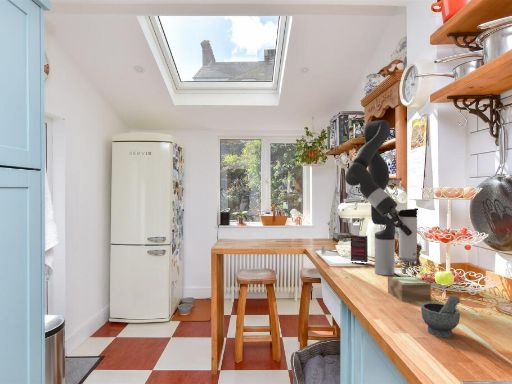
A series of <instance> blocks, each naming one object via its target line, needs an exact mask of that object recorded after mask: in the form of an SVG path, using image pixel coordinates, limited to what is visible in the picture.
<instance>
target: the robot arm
mask: <svg viewBox="0 0 512 384" xmlns="http://www.w3.org/2000/svg"><path fill="white" fill-rule="evenodd" d="M390 133H391V125H390V123H389V121H388V120H385V119H380V120H379V119H378V120H374V121H373V120H372V121H368V122H366V123H365V124H364V126H363V136H364V137H363V138H364V142H365V144H364V145H362V146H361V147H360V148H359V149H358V151H357V153H356V155H355V156H354V158H353V161H352V163H351V164H350V165H349V167H348V168H347V171H346V173H345V176H344V179H345V182H346V184H347V185H348V186H352V187H354V186H355V187H356V186H358V185H359V191H360V193H361V194H362V195H363V196H364V198H365V199H366V200H367V201H368V202H369V204H370V214H371V215H370V216H371V221H372V223H373V224H374V225H379V226H385V228H384V229H382V230H380V231H376V232H375V233H374V273H375V274H376V275H379V276H394V275H395V274H396V273H395V269H396V268H395V267H396V266H395V252H396V251H395V249H396V248H395V245H396V244H395V243H396V242H395V241H396V238H395V236H396V228H397V229H398V230H399V229H401V230H402V231H403V232H404V233H405V234H406V235H407V236H409V235H411V234H412V231H411V230H410V229H409V228H408V227H407V226H406V225H405V223H404V222H403V221H402V218H401V217H400V210H397V207H398V203H397V202H396V200H394V199H393V198H392V197H391V195H389V194H388V192H387V191H385V189H386V188H387V186H388V184H389V182H390V169H389V165H388V164H387V162H386V160H385V159H384V158H383V157H382V155H381V154H380V152H379V150H380V148H381V147H382V146H383V144H384V143H385V142H386V140H387V139H388V138H389V136H390ZM404 225H405V226H404ZM394 273H395V274H394Z"/></svg>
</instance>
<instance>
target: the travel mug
mask: <svg viewBox="0 0 512 384" xmlns="http://www.w3.org/2000/svg"><path fill="white" fill-rule="evenodd" d="M399 211H400V217H401V218H402V221H403V222H404V223H405V225H406V226H407V227H408V228H409V229H410V230H411V231H412V234H411V235H409V236H407V235H406V234H405V233H404V232H403V231H402V230H401V229H399V228H398V260H399V261H401V262H409V263H410V262H413V263H414V262H415V263H416V262H417V261H418V259H417V258H418V211H419V208H417V207H416V208H409V209H408V208H406V209H401V210H400V209H399ZM405 225H404V226H405Z"/></svg>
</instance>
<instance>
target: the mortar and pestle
mask: <svg viewBox="0 0 512 384" xmlns="http://www.w3.org/2000/svg"><path fill="white" fill-rule="evenodd" d="M459 303H461V300H460V298H459V297H458V295H455V294H449V295H448V296H447V299H446V302H445V303H444V304H443V303H440V302H426V303H421V304H420V310H421V317H422V320H423V321H424V323H425V325H427V333H429V334H431V335H432V336H435V337H440V338H450V337H453V331H452V330H454V329H455V328H457V326H458V325H459V323H460V319H461V316H460V315H461V312H460V310H459V308H457V306H458V304H459Z"/></svg>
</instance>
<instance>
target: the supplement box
mask: <svg viewBox="0 0 512 384" xmlns="http://www.w3.org/2000/svg"><path fill="white" fill-rule="evenodd" d="M368 242H369V241H368V235H363V234H362V235H361V234H359V235H358V234H352V235H350V262H351V261H361V262H369V261H368V259H369V257H368V256H369V255H368V253H369V252H368V250H369V249H368V247H369V246H368Z"/></svg>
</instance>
